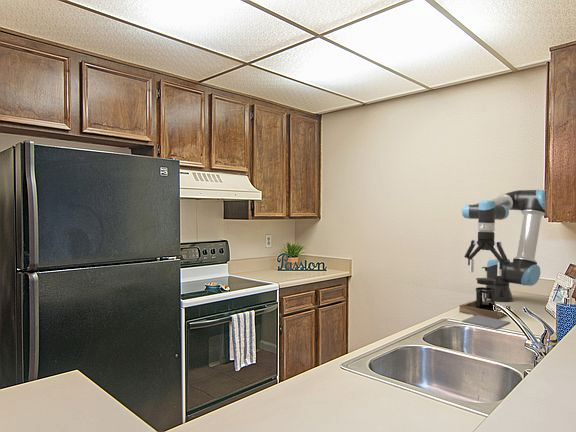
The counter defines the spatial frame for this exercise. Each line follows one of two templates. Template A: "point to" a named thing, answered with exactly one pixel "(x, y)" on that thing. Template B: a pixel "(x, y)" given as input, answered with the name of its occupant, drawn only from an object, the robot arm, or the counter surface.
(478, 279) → the french press
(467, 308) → the cradle
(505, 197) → the robot arm
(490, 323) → the mat
